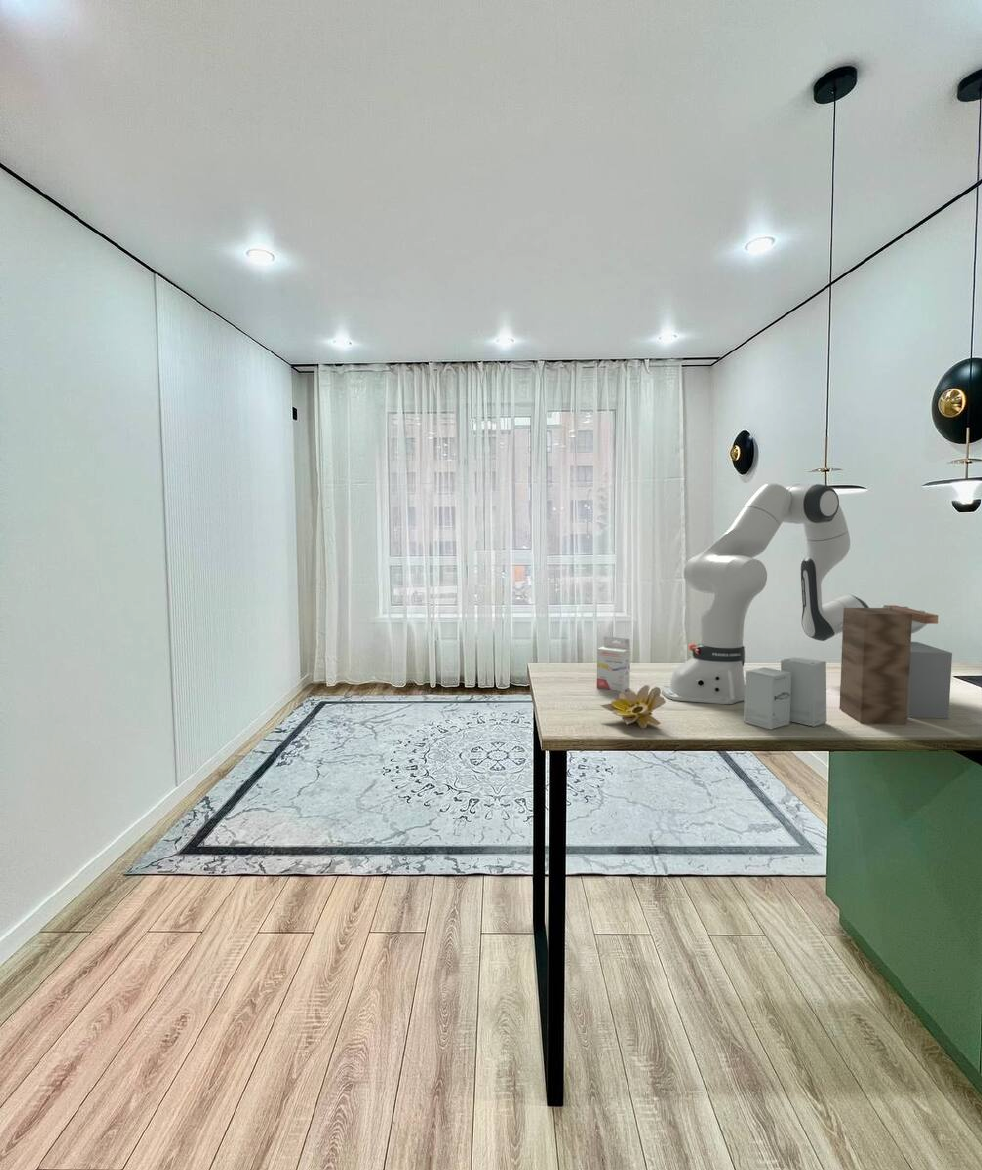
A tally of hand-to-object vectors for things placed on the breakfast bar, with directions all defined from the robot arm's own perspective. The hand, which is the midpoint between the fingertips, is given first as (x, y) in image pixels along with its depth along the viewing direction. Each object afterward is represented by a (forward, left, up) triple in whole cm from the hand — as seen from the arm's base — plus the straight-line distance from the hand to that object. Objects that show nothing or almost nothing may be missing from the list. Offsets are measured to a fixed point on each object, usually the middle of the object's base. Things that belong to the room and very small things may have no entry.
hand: (896, 609), depth 166 cm
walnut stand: (-13, -18, -24) cm, 33 cm away
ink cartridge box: (-74, +3, -25) cm, 78 cm away
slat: (0, -6, -1) cm, 6 cm away
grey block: (0, -10, -24) cm, 26 cm away
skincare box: (-31, -24, -25) cm, 46 cm away
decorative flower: (-71, -29, -25) cm, 81 cm away
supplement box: (-40, -27, -25) cm, 54 cm away
